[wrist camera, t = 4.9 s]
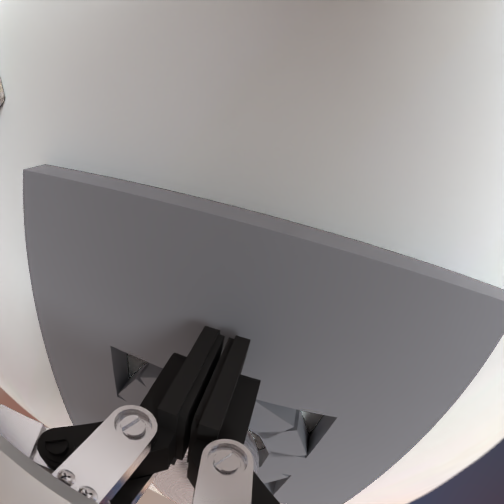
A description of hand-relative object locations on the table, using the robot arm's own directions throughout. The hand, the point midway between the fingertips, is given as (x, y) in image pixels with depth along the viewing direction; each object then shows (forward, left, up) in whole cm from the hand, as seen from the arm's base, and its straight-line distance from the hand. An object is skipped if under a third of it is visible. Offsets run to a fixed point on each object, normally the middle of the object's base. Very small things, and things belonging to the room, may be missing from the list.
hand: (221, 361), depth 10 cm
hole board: (+5, 0, -2) cm, 6 cm away
